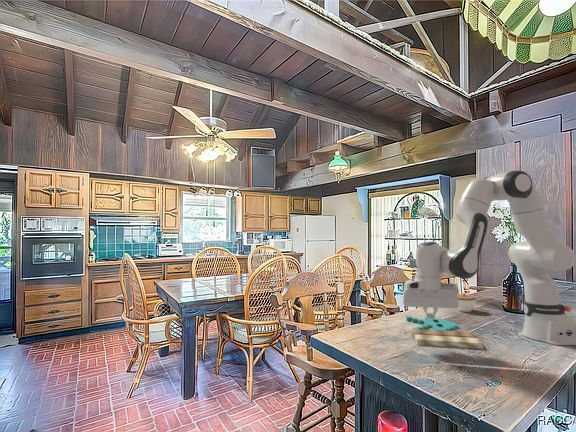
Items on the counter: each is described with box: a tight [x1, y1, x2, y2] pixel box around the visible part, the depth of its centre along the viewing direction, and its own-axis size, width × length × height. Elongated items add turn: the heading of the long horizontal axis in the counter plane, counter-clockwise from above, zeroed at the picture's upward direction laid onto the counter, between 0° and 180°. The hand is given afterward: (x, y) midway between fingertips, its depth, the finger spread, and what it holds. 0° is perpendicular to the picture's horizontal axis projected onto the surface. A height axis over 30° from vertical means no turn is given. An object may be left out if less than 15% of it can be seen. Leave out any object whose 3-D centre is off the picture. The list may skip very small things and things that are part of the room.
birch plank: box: [414, 334, 484, 350], centre depth 122 cm, size 23×6×2 cm, turn 75°
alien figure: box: [405, 315, 460, 331], centre depth 145 cm, size 20×2×20 cm
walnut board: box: [411, 328, 477, 339], centre depth 129 cm, size 23×6×2 cm, turn 75°
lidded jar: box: [456, 292, 477, 313], centre depth 170 cm, size 11×11×9 cm
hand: (430, 318), depth 123 cm, fingers closed
